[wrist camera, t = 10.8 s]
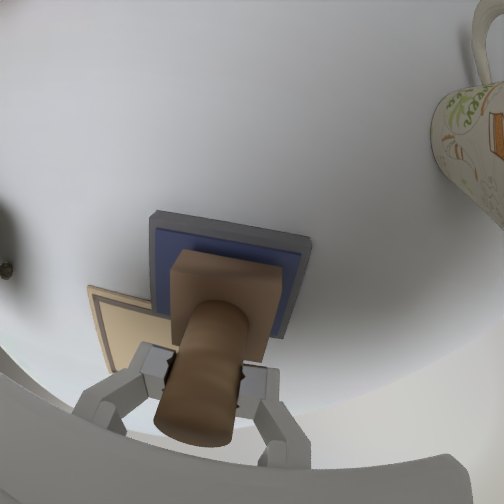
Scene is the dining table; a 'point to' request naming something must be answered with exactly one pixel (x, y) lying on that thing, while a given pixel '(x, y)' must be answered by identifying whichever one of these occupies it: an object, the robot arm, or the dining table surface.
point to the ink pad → (225, 255)
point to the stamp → (214, 342)
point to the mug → (475, 127)
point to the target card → (126, 326)
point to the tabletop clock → (5, 271)
